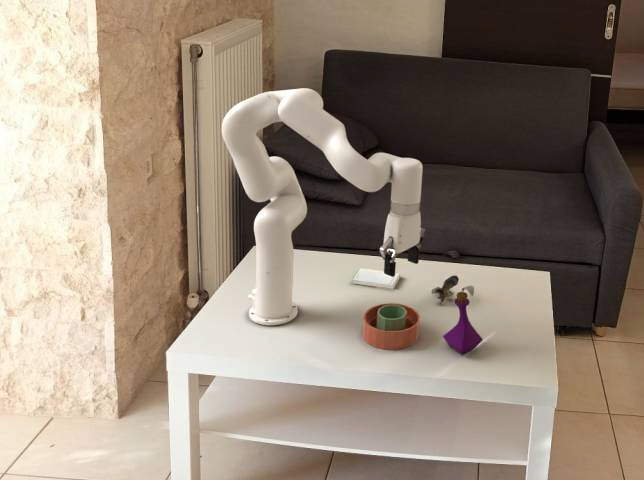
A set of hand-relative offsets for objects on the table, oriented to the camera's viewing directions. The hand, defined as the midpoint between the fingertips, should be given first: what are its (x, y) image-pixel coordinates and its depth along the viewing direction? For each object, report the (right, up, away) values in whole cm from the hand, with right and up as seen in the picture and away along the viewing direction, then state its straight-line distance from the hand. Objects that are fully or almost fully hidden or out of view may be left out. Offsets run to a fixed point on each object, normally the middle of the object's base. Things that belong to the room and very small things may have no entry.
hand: (401, 268), depth 189 cm
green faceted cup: (-3, -18, +3) cm, 18 cm away
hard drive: (-12, -11, +32) cm, 36 cm away
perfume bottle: (+16, -21, 0) cm, 26 cm away
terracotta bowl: (-3, -18, +3) cm, 19 cm away
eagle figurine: (+10, -15, +25) cm, 31 cm away
